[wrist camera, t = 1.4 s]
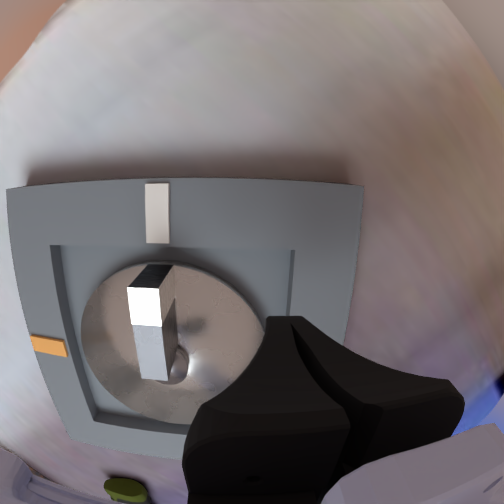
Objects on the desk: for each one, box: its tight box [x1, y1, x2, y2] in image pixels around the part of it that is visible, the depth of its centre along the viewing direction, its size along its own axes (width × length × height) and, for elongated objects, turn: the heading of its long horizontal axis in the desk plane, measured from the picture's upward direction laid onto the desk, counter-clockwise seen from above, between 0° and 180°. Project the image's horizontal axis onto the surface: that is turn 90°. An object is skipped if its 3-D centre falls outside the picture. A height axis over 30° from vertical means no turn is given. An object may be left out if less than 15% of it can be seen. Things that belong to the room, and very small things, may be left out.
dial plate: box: [6, 177, 364, 460], centre depth 18 cm, size 21×21×2 cm
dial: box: [81, 260, 265, 424], centre depth 16 cm, size 12×12×4 cm
